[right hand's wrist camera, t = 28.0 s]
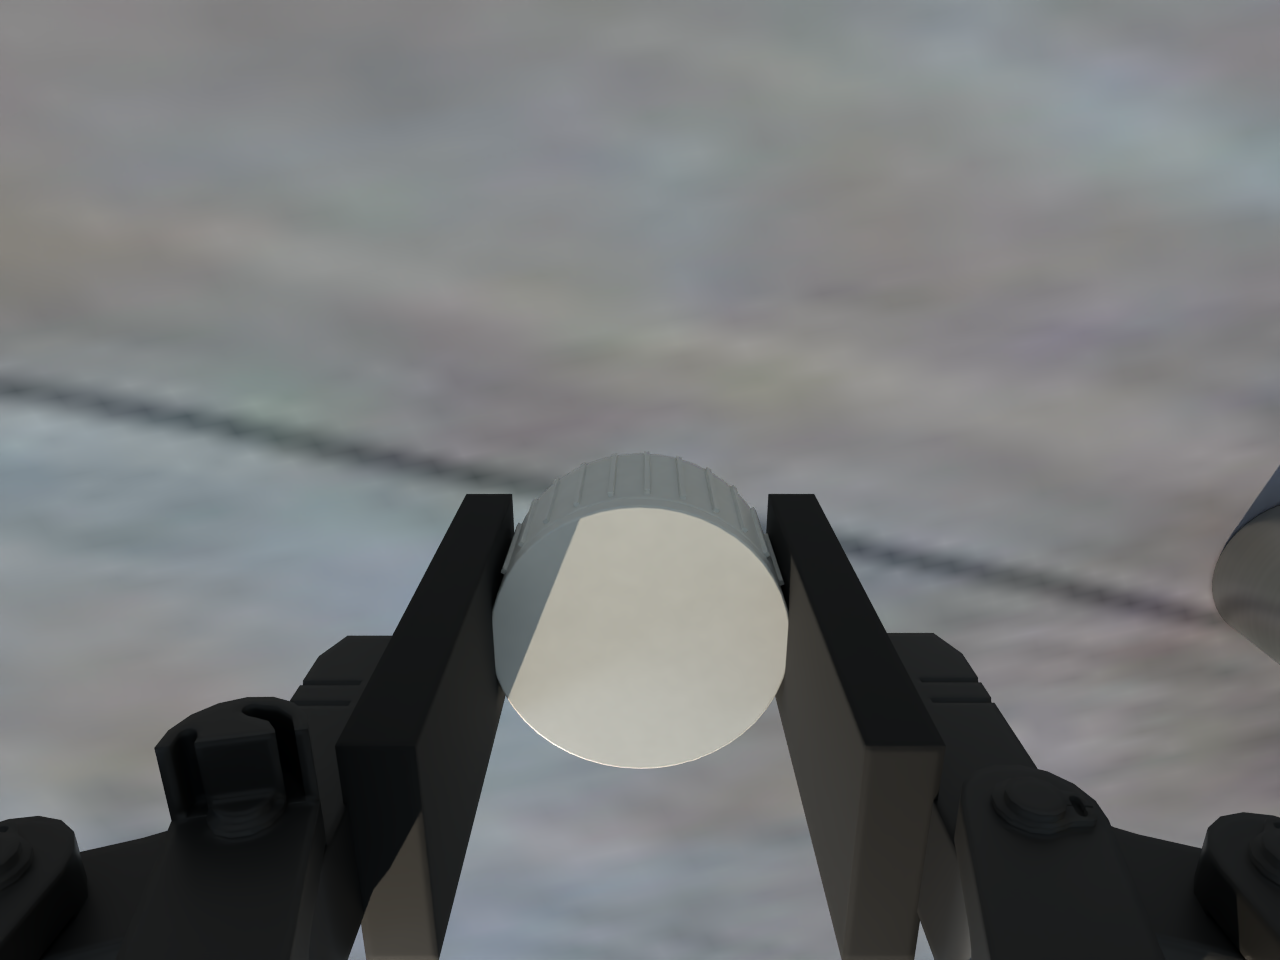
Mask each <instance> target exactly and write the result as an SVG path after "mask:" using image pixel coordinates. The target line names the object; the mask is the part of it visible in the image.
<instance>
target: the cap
mask: <svg viewBox="0 0 1280 960" xmlns="http://www.w3.org/2000/svg"><path fill="white" fill-rule="evenodd" d="M501 573H502V574H504V576H503V579H502V582H501V585H500V587H499V590H498V593H497V597H496V600H495V603H494V606H493V609H492V624H493V639H494V654H495V668H496V676H497V678H498V681H499V683H500V685H501V687H502V689H503V691H504V694H505V695H506V697H507V698H508V700H509V701H510V703H511V705H512V706H513V708H514V709H515V710H516V711H517V713H518V714H519V715H520V716H521V717H522V718H523V720H524V721H525V722H526V723H527V724H528V725H529V726H531V727H532V728H533V729H534V730H535V731H536V732H537V733H538V734H540V735H541V736H542V737H544V738H545V739H547V740H548V741H549V742H551V743H552V744H554V745H556V746H557V747H559V748H561V749H563V750H565V751H567V752H568V753H571V754H573V755H576V756H578V757H581V758H583V759H586V760H589V761H593V762H596V763H600V764H603V765H609V766H615V767H621V768H638V769H642V768H660V767H666V766H672V765H678V764H681V763H685V762H689V761H692V760H696V759H698V758H701V757H703V756H706V755H708V754H711V753H713V752H715V751H716V750H718V749H720V748H722V747H724V746H726V745H727V744H729V743H730V742H732V741H733V740H735V739H736V738H737V737H739V736H740V735H742V734H743V733H744V732H745V731H746V730H747V729H748V728H749V727H751V726H752V725H753V724H754V723H755V722H756V721H757V720H758V718H759V717H760V716H761V715H762V714H763V713H764V711H765V710H766V709H767V708H768V706H769V704H770V703H771V701H772V700H773V698H774V697H775V695H776V693H777V691H778V689H779V687H780V685H781V683H782V680H783V678H784V675H785V666H786V651H787V636H788V620H789V612H788V608H787V605H786V602H785V598H784V595H783V592H782V589H781V585H784V581H783V578H782V575H781V572H780V569H779V566H778V563H777V560H776V557H775V554H774V551H773V548H772V545H771V542H770V539H769V536H768V533H766V534H764V533H763V530H762V528H761V525H760V522H759V519H758V516H757V513H756V510H755V509H754V507H753V508H751V509H750V507H749V506H748V504H747V503H746V502H745V501H744V499H743V498H742V497H741V496H740V495H739V494H738V492H737V489H736V487H735V486H734V485H732V486H729V485H728V484H727V483H726V482H725V481H724V480H722V479H721V478H719V477H718V476H716V475H714V474H713V473H712V472H711V469H709V468H706V469H704V468H702V467H700V466H698V465H695V464H693V463H690V462H687V461H684V460H682V458H681V457H678V456H677V457H676V458H674V457H669V456H664V455H659V454H649V452H644V454H643V453H638V454H623V455H617V454H612V456H611V457H607V458H603V459H600V460H597V461H594V462H591V463H588V464H586V463H583V464H581V467H579V468H577V469H575V470H573V471H571V472H570V473H568V474H567V475H565V476H564V477H562V478H561V479H559V478H556V479H555V480H554V482H553V485H552V486H551V487H549V488H548V489H547V490H546V491H545V492H544V493H543V494H542V495H541V496H540V498H539V499H538V500H537V499H536V498H535V499H534V500H533V501H532V504H531V507H530V510H529V512H528V514H527V515H526V517H525V519H524V521H523V523H522V524H520V523H518V525H517V527H516V530H515V533H514V536H513V539H512V541H511V544H510V547H509V550H508V553H507V556H506V559H505V561H504V564H503V567H502V570H501Z"/></svg>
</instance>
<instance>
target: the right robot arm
mask: <svg viewBox="0 0 1280 960" xmlns="http://www.w3.org/2000/svg"><path fill="white" fill-rule="evenodd" d="M766 533H768V536H769V539H770V542H771V545H772V548H773V551H774V554H775V557H776V560H777V563H778V566H779V569H780V572H781V575H782V578H783V581H784V585H781V589H782V592H783V595H784V598H785V602H786V605H787V608H788V612H789V620H788V636H787V651H786V666H785V675H784V678H783V680H782V683H781V685H780V687H779V689H778V691H777V693H776V695H775V697H776V701H777V705H778V709H779V713H780V717H781V721H782V725H783V729H784V733H785V737H786V741H787V745H788V749H789V753H790V757H791V760H792V764H793V768H794V772H795V776H796V780H797V784H798V788H799V792H800V796H801V800H802V804H803V808H804V812H805V816H806V820H807V824H808V828H809V832H810V836H811V840H812V844H813V848H814V852H815V856H816V860H817V864H818V868H819V871H820V875H821V879H822V883H823V887H824V891H825V895H826V899H827V903H828V907H829V911H830V915H831V919H832V923H833V927H834V931H835V935H836V939H837V943H838V947H839V951H840V955H841V959H842V960H914V957H915V950H916V944H917V937H918V930H919V923H920V921H921V924H922V927H923V929H924V932H925V935H926V938H927V940H928V943H929V946H930V948H931V951H932V954H933V957H934V960H1280V818H1279V817H1276V816H1272V815H1263V814H1254V813H1245V812H1242V813H1237V814H1231V815H1226V816H1221V817H1219V818H1218V819H1217V820H1216V821H1215V822H1214V823H1213V824H1212V825H1211V826H1210V827H1208V829H1207V833H1206V836H1205V840H1204V843H1203V847H1202V849H1201V848H1196V847H1192V846H1188V845H1183V844H1179V843H1174V842H1170V841H1165V840H1161V839H1156V838H1152V837H1147V836H1143V835H1138V834H1135V833H1132V832H1128V831H1125V830H1121V829H1118V828H1114V827H1112V826H1111V825H1110V822H1109V820H1108V818H1107V817H1106V815H1105V814H1104V813H1103V811H1102V810H1101V808H1100V807H1099V805H1098V804H1097V802H1096V801H1095V800H1094V799H1092V798H1091V797H1090V796H1089V795H1087V794H1086V793H1085V792H1084V791H1082V790H1081V789H1080V788H1078V787H1077V786H1076V785H1075V784H1073V783H1071V782H1069V781H1067V780H1064V779H1062V778H1060V777H1058V776H1056V775H1054V774H1052V773H1050V772H1047V771H1043V770H1039V769H1037V767H1036V766H1035V764H1034V763H1033V761H1032V759H1031V758H1030V756H1029V755H1028V753H1027V752H1026V750H1025V749H1024V747H1023V746H1022V744H1021V743H1020V741H1019V740H1018V738H1017V737H1016V735H1015V734H1014V732H1013V730H1012V729H1011V727H1010V726H1009V724H1008V723H1007V721H1006V720H1005V718H1004V717H1003V715H1002V714H1001V712H1000V711H999V709H998V708H997V706H996V704H995V703H991V697H990V695H989V694H988V692H987V691H986V689H985V688H984V686H983V685H982V683H978V677H977V675H976V674H975V672H974V671H973V669H972V668H971V666H970V665H969V663H968V662H967V660H966V659H965V657H964V656H963V654H962V653H961V652H959V651H958V650H956V649H955V648H954V647H952V646H951V645H949V644H948V643H947V642H945V641H944V640H942V639H941V638H940V637H938V636H937V635H935V634H934V633H887V632H886V631H885V629H884V627H883V625H882V623H881V621H880V619H879V617H878V615H877V613H876V611H875V609H874V608H873V606H872V604H871V602H870V600H869V598H868V596H867V594H866V592H865V590H864V588H863V587H862V585H861V583H860V581H859V579H858V577H857V575H856V573H855V571H854V569H853V567H852V566H851V564H850V562H849V560H848V558H847V556H846V554H845V552H844V550H843V548H842V546H841V545H840V543H839V541H838V539H837V537H836V535H835V533H834V531H833V529H832V527H831V525H830V524H829V522H828V520H827V518H826V516H825V514H824V512H823V510H822V508H821V506H820V504H819V502H818V501H817V499H816V497H815V495H814V494H768V512H767V530H766ZM513 536H514V520H513V502H512V494H466V496H465V498H464V500H463V502H462V504H461V506H460V507H459V509H458V511H457V513H456V515H455V517H454V519H453V521H452V523H451V525H450V527H449V528H448V530H447V532H446V534H445V536H444V538H443V540H442V542H441V544H440V546H439V548H438V549H437V551H436V553H435V555H434V557H433V559H432V561H431V563H430V565H429V567H428V569H427V571H426V572H425V574H424V576H423V578H422V580H421V582H420V584H419V586H418V588H417V590H416V592H415V593H414V595H413V597H412V599H411V601H410V603H409V605H408V607H407V609H406V611H405V613H404V614H403V616H402V618H401V620H400V622H399V624H398V626H397V628H396V630H395V632H394V634H393V635H392V636H347V637H345V638H344V639H342V640H341V641H340V642H338V643H337V644H335V645H334V646H333V647H331V648H330V649H328V650H327V651H326V652H324V653H323V654H322V655H320V656H319V657H318V658H317V660H316V662H315V663H314V665H313V666H312V668H311V669H310V671H309V672H308V674H307V675H306V677H305V678H304V680H303V685H300V686H299V688H298V689H297V691H296V692H295V694H294V695H293V697H292V698H291V700H290V701H287V700H283V699H279V698H276V697H246V698H241V699H237V700H232V701H227V702H223V703H218V704H216V705H214V706H211V707H209V708H206V709H204V710H202V711H199V712H197V713H194V714H192V715H190V716H189V717H187V718H186V719H184V720H183V721H181V722H180V723H178V724H177V725H176V726H174V727H173V728H171V729H170V730H168V732H167V733H166V734H165V735H164V737H163V738H162V739H161V740H160V742H159V743H158V744H157V745H156V747H155V753H156V757H157V761H158V765H159V770H160V774H161V778H162V782H163V786H164V791H165V795H166V799H167V803H168V808H169V812H170V816H171V820H172V821H171V824H170V826H169V829H168V831H165V832H162V833H158V834H155V835H151V836H148V837H145V838H141V839H136V840H132V841H127V842H123V843H118V844H114V845H109V846H105V847H101V848H96V849H92V850H87V851H83V852H80V851H79V848H78V844H77V841H76V837H75V834H74V831H73V830H71V829H70V828H69V827H68V826H67V825H66V824H65V823H64V822H63V821H62V820H58V819H52V818H47V817H42V816H33V817H24V818H15V819H8V820H5V821H1V822H0V960H348V957H349V954H350V952H351V949H352V946H353V944H354V941H355V938H356V935H357V933H358V930H359V927H360V924H361V926H362V933H363V940H364V946H365V953H366V960H439V957H440V953H441V949H442V945H443V941H444V937H445V933H446V929H447V925H448V921H449V917H450V913H451V909H452V905H453V901H454V897H455V894H456V890H457V886H458V882H459V878H460V874H461V870H462V866H463V862H464V858H465V854H466V850H467V846H468V842H469V838H470V834H471V830H472V826H473V822H474V818H475V814H476V810H477V806H478V802H479V798H480V794H481V790H482V786H483V782H484V779H485V775H486V771H487V767H488V763H489V759H490V755H491V751H492V747H493V743H494V739H495V735H496V731H497V727H498V723H499V719H500V715H501V711H502V707H503V703H504V699H505V694H504V691H503V689H502V687H501V685H500V683H499V681H498V678H497V676H496V668H495V654H494V639H493V624H492V609H493V606H494V603H495V600H496V597H497V593H498V590H499V587H500V585H501V582H502V579H503V576H504V574H502V573H501V570H502V567H503V564H504V561H505V559H506V556H507V553H508V550H509V547H510V544H511V541H512V539H513Z"/></svg>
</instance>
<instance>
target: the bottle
mask: <svg viewBox="0 0 1280 960" xmlns="http://www.w3.org/2000/svg"><path fill="white" fill-rule="evenodd" d="M1212 592H1213V599H1214V602H1215V605H1216V608H1217V610H1218V612H1219V614H1220V615H1221V616H1222V618H1223V619H1224V620H1225V621H1226V622H1227V623H1228V624H1229V625H1230V626H1231V627H1232V628H1233V629H1235V630H1236V631H1237V632H1239V633H1240V634H1241V635H1242V636H1244V637H1245V638H1246V639H1247V640H1249V641H1250V642H1251V643H1253V644H1254V645H1255V646H1256V647H1258V648H1259V649H1260V650H1261V651H1263V652H1264V653H1265V654H1267V655H1268V656H1269V657H1270V658H1272V659H1273V660H1274V661H1275V662H1277V663H1278V664H1279V665H1280V505H1279V506H1276V507H1274V508H1272V509H1269V510H1267V511H1266V512H1264V513H1262V514H1260V515H1258V516H1257V517H1255V518H1254V519H1252V520H1251V521H1250V522H1248V523H1247V524H1246V525H1245V526H1244V527H1242V528H1241V529H1240V530H1239V531H1238V532H1237V533H1236V534H1235V535H1234V536H1233V538H1232V539H1231V540H1230V541H1229V543H1228V544H1227V545H1226V547H1225V548H1224V550H1223V552H1222V553H1221V555H1220V557H1219V560H1218V562H1217V564H1216V567H1215V570H1214V575H1213V581H1212Z"/></svg>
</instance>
